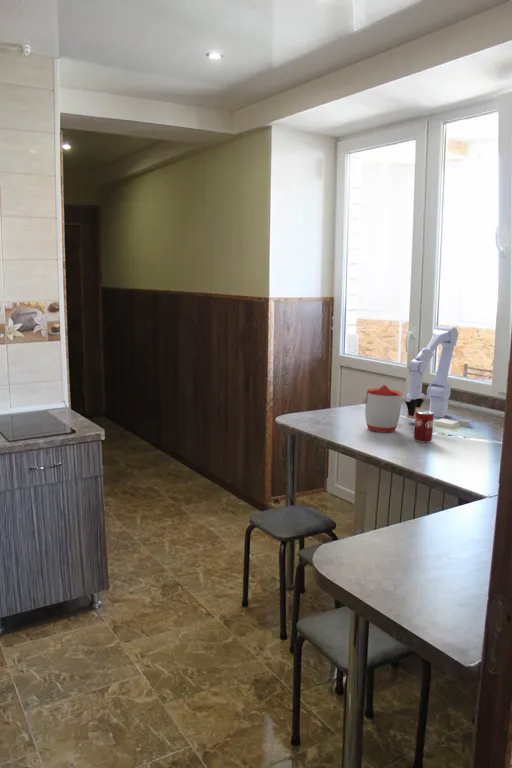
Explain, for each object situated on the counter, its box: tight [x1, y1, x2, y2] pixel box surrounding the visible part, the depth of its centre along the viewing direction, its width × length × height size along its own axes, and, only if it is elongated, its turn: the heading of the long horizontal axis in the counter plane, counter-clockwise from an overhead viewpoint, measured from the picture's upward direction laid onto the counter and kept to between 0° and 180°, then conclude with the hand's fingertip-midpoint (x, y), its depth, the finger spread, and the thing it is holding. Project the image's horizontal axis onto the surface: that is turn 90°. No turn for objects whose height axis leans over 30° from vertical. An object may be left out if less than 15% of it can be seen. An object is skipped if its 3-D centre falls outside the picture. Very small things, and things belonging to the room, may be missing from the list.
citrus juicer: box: [360, 384, 403, 433], centre depth 283 cm, size 16×17×20 cm
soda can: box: [413, 410, 435, 443], centre depth 268 cm, size 7×7×12 cm
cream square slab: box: [433, 417, 460, 428], centre depth 293 cm, size 8×8×2 cm
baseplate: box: [433, 419, 468, 433], centre depth 293 cm, size 16×16×1 cm
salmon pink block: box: [406, 407, 421, 420], centre depth 300 cm, size 4×4×5 cm
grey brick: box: [459, 418, 471, 428], centre depth 294 cm, size 4×4×2 cm
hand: (413, 414), depth 300 cm, fingers closed on salmon pink block, 4 cm apart
